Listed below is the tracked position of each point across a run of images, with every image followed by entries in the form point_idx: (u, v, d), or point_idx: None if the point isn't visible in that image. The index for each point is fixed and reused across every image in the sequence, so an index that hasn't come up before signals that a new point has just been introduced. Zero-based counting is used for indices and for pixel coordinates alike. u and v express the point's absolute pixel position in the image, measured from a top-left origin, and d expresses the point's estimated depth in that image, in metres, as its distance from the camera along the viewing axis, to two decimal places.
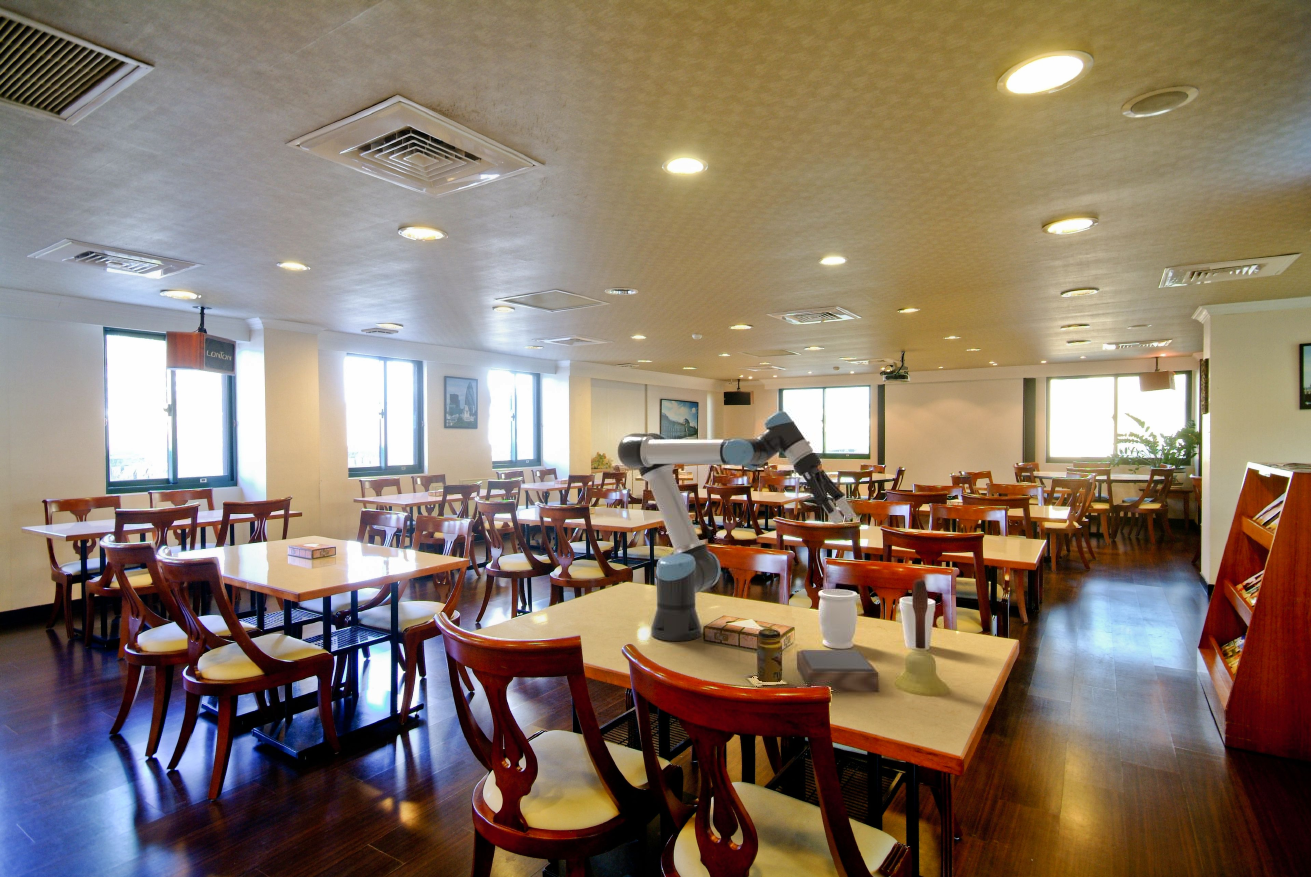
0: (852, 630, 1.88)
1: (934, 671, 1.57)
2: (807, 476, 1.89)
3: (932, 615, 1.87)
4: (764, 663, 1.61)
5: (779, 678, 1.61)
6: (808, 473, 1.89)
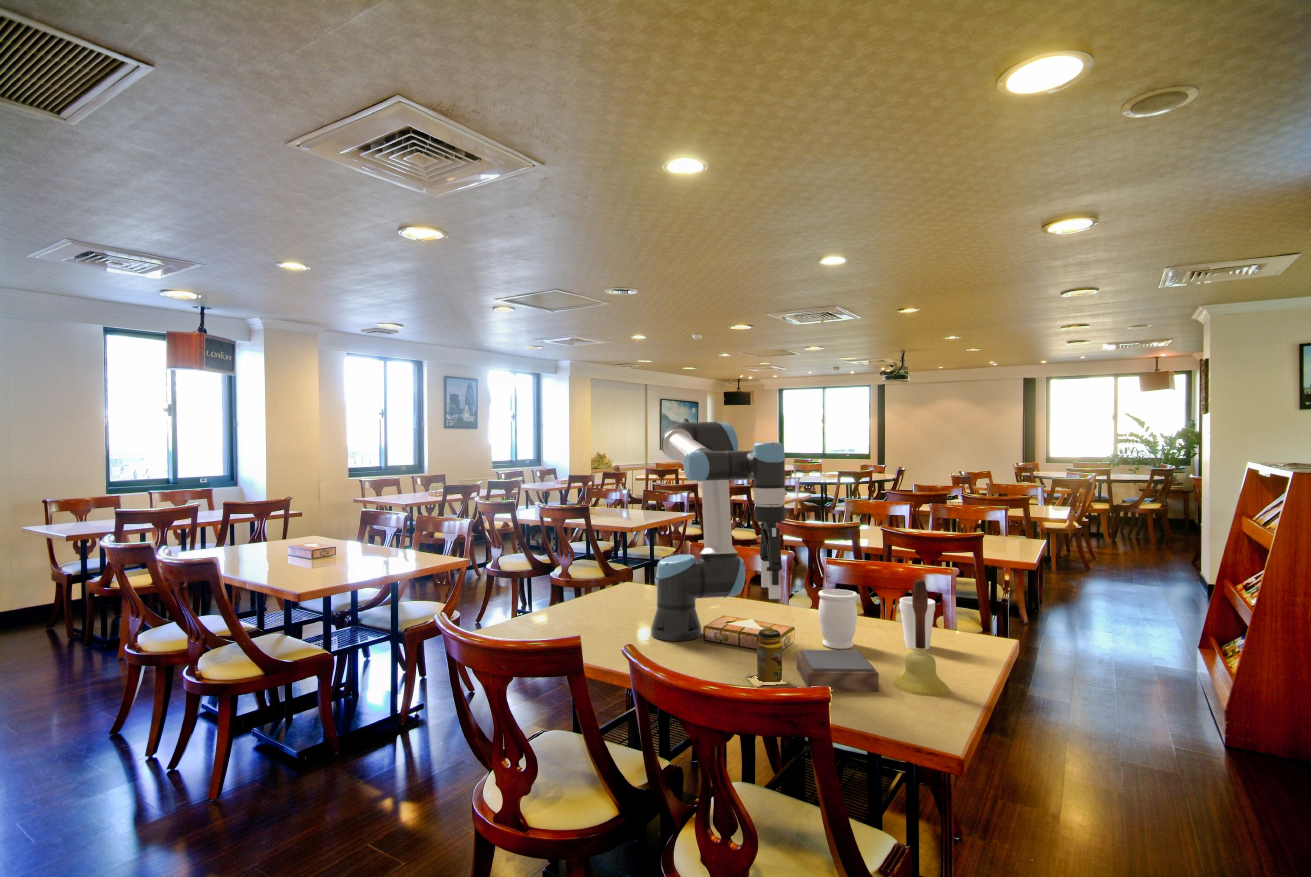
0: (852, 630, 1.88)
1: (934, 671, 1.57)
2: (773, 533, 1.58)
3: (932, 615, 1.87)
4: (764, 663, 1.61)
5: (779, 678, 1.61)
6: (776, 530, 1.58)
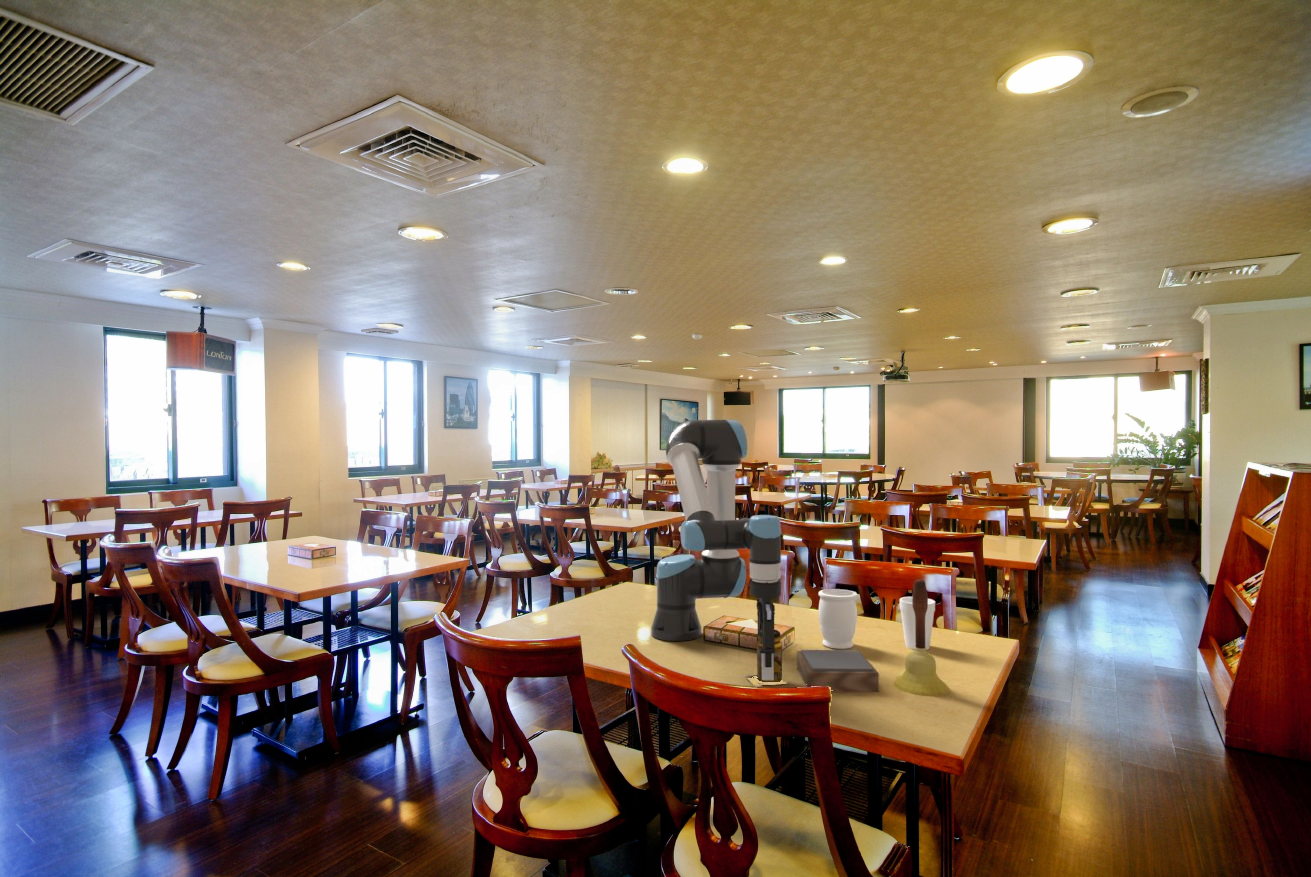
0: (852, 630, 1.88)
1: (934, 671, 1.57)
2: (768, 616, 1.57)
3: (932, 615, 1.87)
4: None
5: (779, 678, 1.61)
6: (771, 614, 1.57)
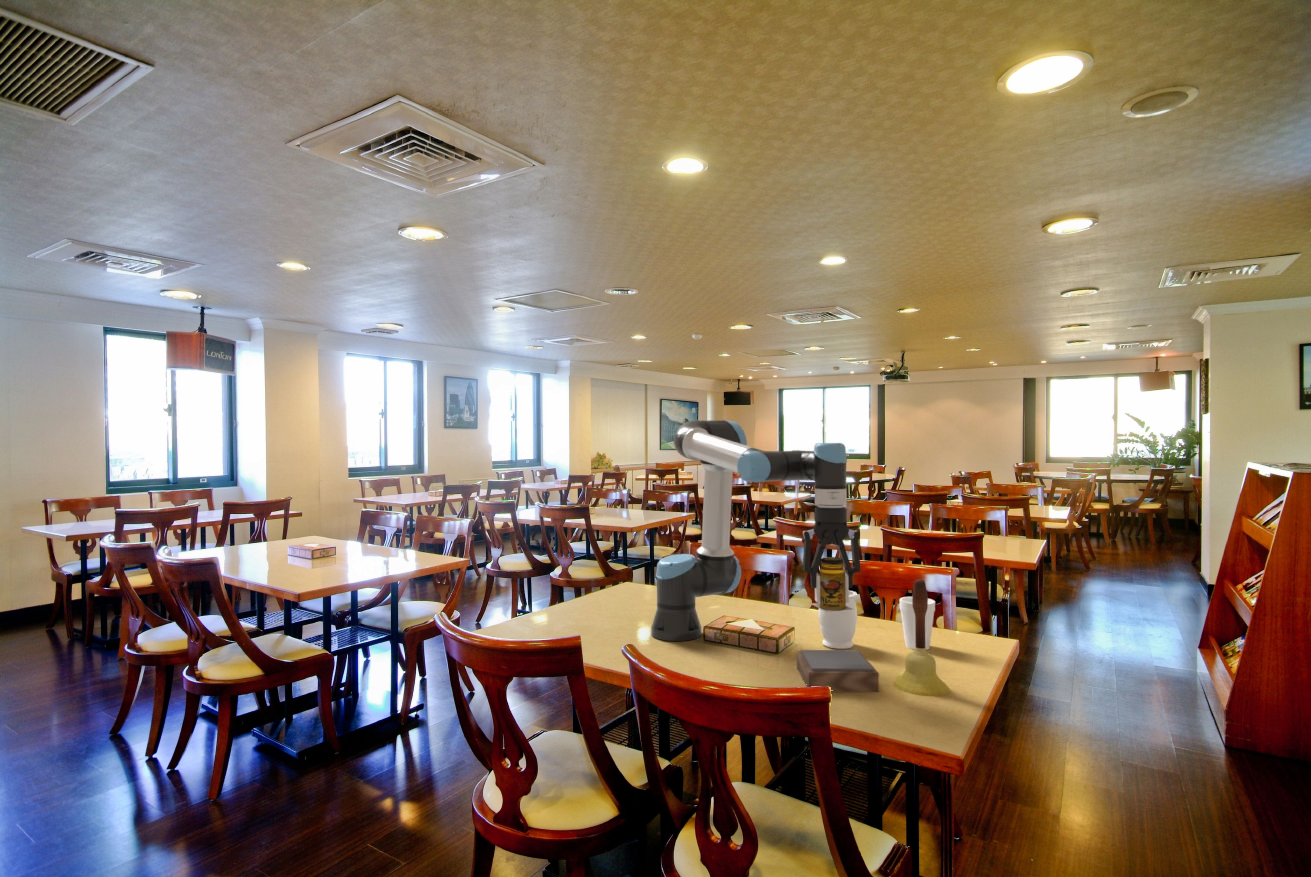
0: (852, 630, 1.88)
1: (934, 671, 1.57)
2: (803, 536, 1.64)
3: (932, 615, 1.87)
4: None
5: (825, 604, 1.61)
6: (803, 534, 1.64)
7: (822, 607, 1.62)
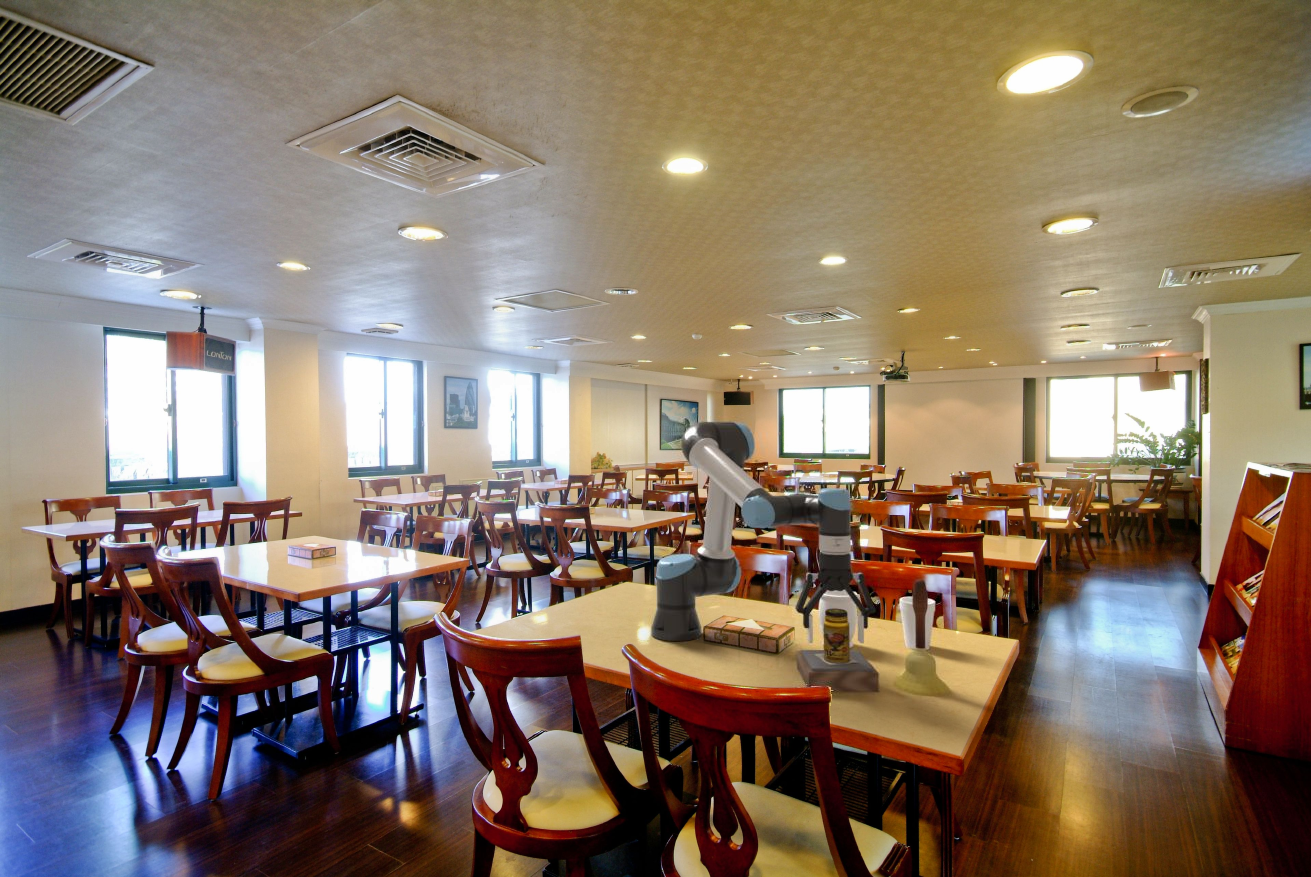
0: (852, 630, 1.88)
1: (934, 671, 1.57)
2: (806, 577, 1.64)
3: (932, 615, 1.87)
4: None
5: (829, 657, 1.61)
6: (807, 576, 1.64)
7: (826, 659, 1.62)
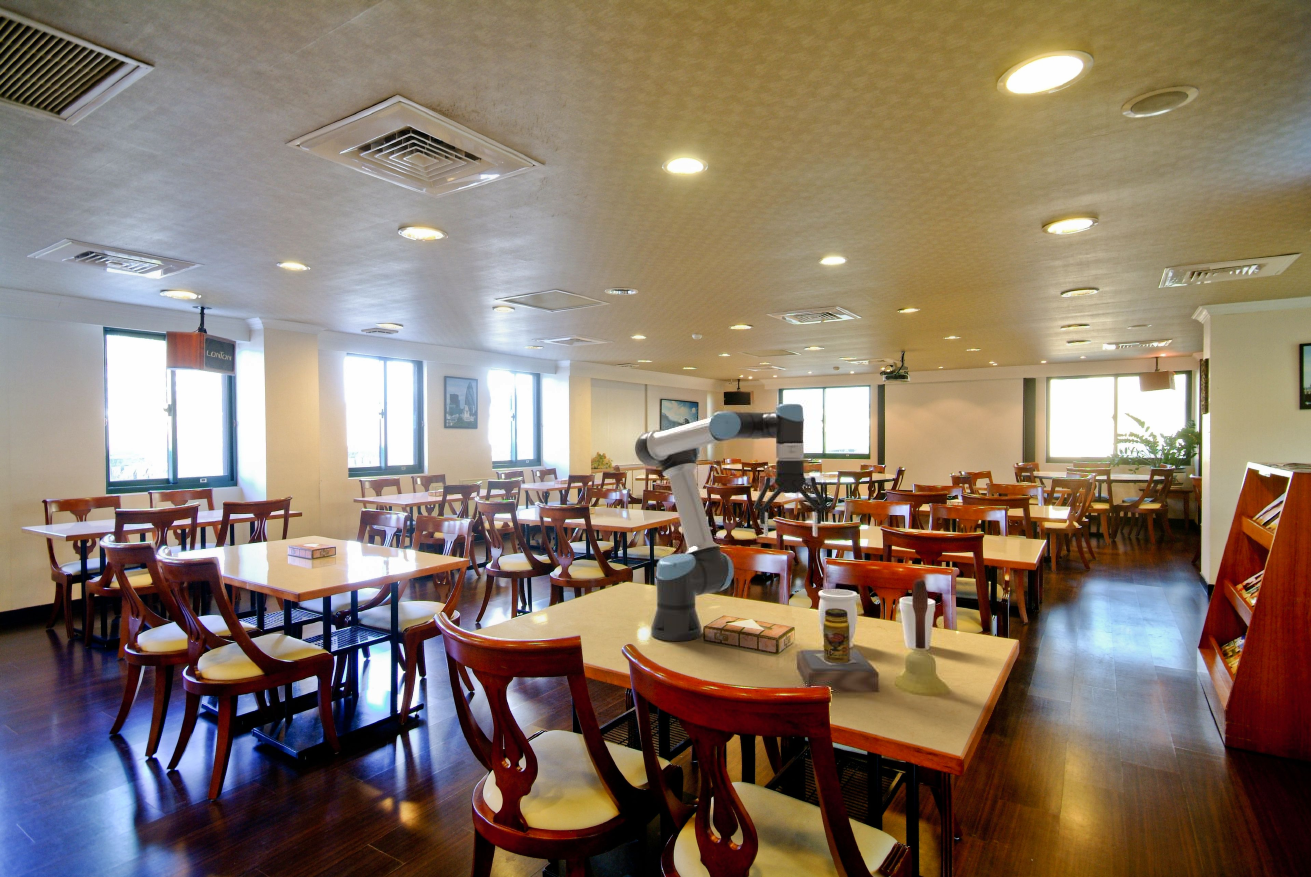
0: (852, 630, 1.88)
1: (934, 671, 1.57)
2: (765, 481, 1.88)
3: (932, 615, 1.87)
4: None
5: (829, 657, 1.61)
6: (765, 479, 1.87)
7: (826, 659, 1.62)
